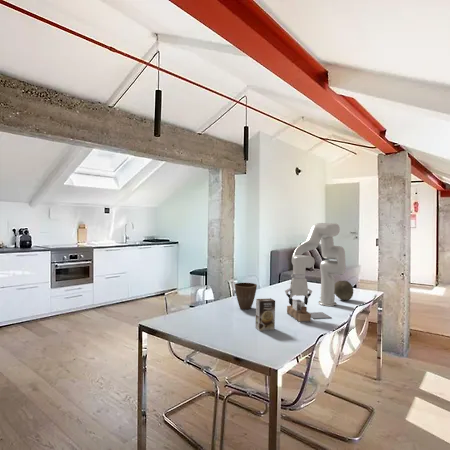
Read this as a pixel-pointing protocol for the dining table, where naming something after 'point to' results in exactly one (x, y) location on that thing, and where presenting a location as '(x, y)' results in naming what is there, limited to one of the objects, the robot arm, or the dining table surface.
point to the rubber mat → (319, 315)
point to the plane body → (299, 314)
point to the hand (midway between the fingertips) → (298, 304)
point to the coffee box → (265, 314)
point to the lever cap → (298, 305)
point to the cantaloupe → (343, 290)
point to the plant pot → (245, 294)
